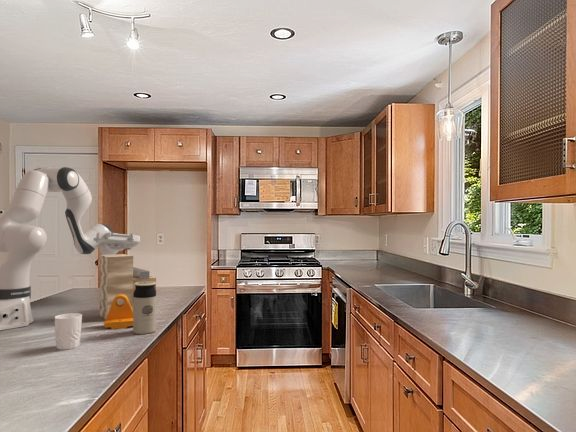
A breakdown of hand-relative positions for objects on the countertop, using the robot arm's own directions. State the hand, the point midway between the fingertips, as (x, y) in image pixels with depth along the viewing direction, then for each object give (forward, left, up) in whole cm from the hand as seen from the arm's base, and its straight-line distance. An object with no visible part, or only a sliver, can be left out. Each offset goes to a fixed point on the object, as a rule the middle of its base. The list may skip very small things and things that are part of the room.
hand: (122, 234), depth 197 cm
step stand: (-11, -17, -34) cm, 40 cm away
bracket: (-26, -30, -35) cm, 53 cm away
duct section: (-5, -16, -18) cm, 25 cm away
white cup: (-52, -37, -35) cm, 73 cm away
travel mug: (-27, -45, -35) cm, 63 cm away
